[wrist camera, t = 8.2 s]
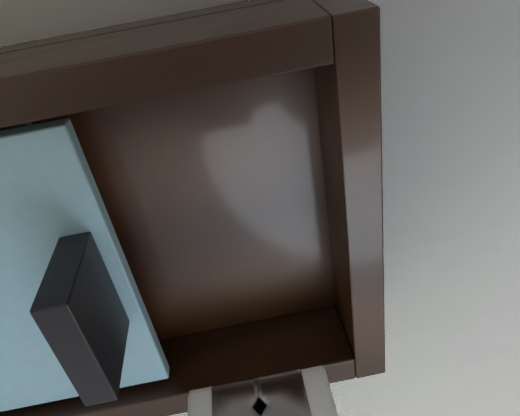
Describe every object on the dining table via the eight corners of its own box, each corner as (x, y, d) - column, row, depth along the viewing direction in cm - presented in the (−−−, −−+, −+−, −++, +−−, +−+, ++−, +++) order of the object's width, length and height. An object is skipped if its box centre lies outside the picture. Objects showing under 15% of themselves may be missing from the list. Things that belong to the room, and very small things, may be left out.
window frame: (-301, 104, 15) (-449, 163, 11) (338, -17, 15) (380, 6, 12) (-62, 386, 22) (-108, 471, 19) (357, 303, 23) (385, 372, 19)
